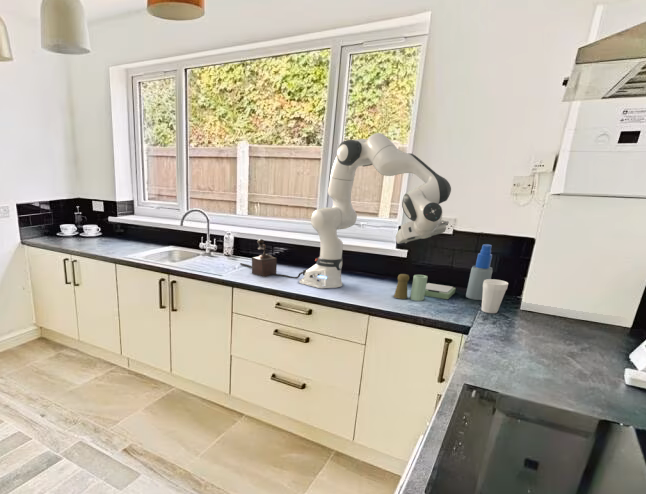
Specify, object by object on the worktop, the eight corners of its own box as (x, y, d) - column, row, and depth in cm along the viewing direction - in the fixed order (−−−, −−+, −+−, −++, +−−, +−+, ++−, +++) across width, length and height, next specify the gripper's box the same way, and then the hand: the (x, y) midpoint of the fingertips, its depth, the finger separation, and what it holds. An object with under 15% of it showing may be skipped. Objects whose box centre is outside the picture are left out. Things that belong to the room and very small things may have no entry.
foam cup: (499, 308, 203) (506, 280, 198) (503, 315, 195) (510, 285, 190) (476, 306, 206) (482, 278, 200) (478, 312, 198) (485, 283, 192)
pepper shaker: (405, 295, 221) (409, 273, 217) (408, 299, 215) (412, 276, 211) (392, 294, 221) (396, 272, 217) (395, 298, 216) (398, 275, 212)
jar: (408, 299, 216) (412, 276, 211) (412, 296, 220) (416, 274, 216) (421, 301, 212) (425, 278, 208) (425, 298, 217) (429, 275, 212)
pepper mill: (277, 274, 259) (279, 242, 252) (262, 277, 253) (263, 244, 246) (260, 269, 270) (261, 238, 263) (245, 271, 264) (246, 240, 257)
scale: (417, 294, 223) (418, 288, 222) (425, 288, 234) (426, 282, 232) (447, 299, 216) (448, 293, 214) (454, 292, 226) (456, 286, 225)
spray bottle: (469, 293, 225) (480, 242, 215) (488, 297, 219) (500, 244, 209) (463, 297, 219) (473, 244, 209) (482, 301, 213) (494, 247, 203)
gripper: (447, 213, 187) (439, 226, 201) (397, 226, 190) (392, 237, 204) (451, 227, 186) (443, 239, 200) (401, 240, 190) (395, 251, 203)
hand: (417, 238), depth 202 cm, fingers open, 8 cm apart
